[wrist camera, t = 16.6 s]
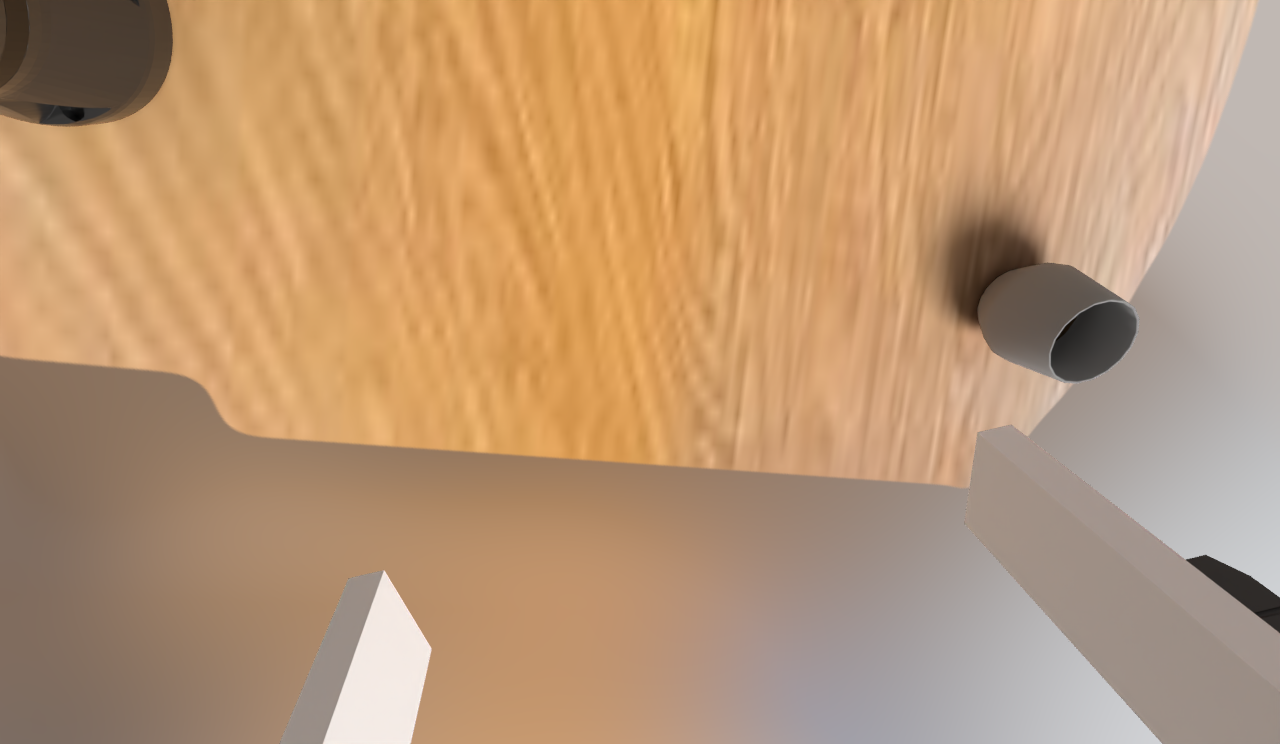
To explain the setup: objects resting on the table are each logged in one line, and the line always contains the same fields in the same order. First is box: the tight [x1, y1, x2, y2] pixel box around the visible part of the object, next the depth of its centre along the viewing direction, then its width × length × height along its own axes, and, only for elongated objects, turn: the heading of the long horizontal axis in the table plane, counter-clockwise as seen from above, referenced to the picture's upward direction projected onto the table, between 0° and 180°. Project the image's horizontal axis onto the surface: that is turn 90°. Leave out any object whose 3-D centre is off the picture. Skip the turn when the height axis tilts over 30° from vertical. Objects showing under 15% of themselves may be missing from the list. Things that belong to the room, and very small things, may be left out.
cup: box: [977, 263, 1139, 383], centre depth 49 cm, size 10×9×10 cm
